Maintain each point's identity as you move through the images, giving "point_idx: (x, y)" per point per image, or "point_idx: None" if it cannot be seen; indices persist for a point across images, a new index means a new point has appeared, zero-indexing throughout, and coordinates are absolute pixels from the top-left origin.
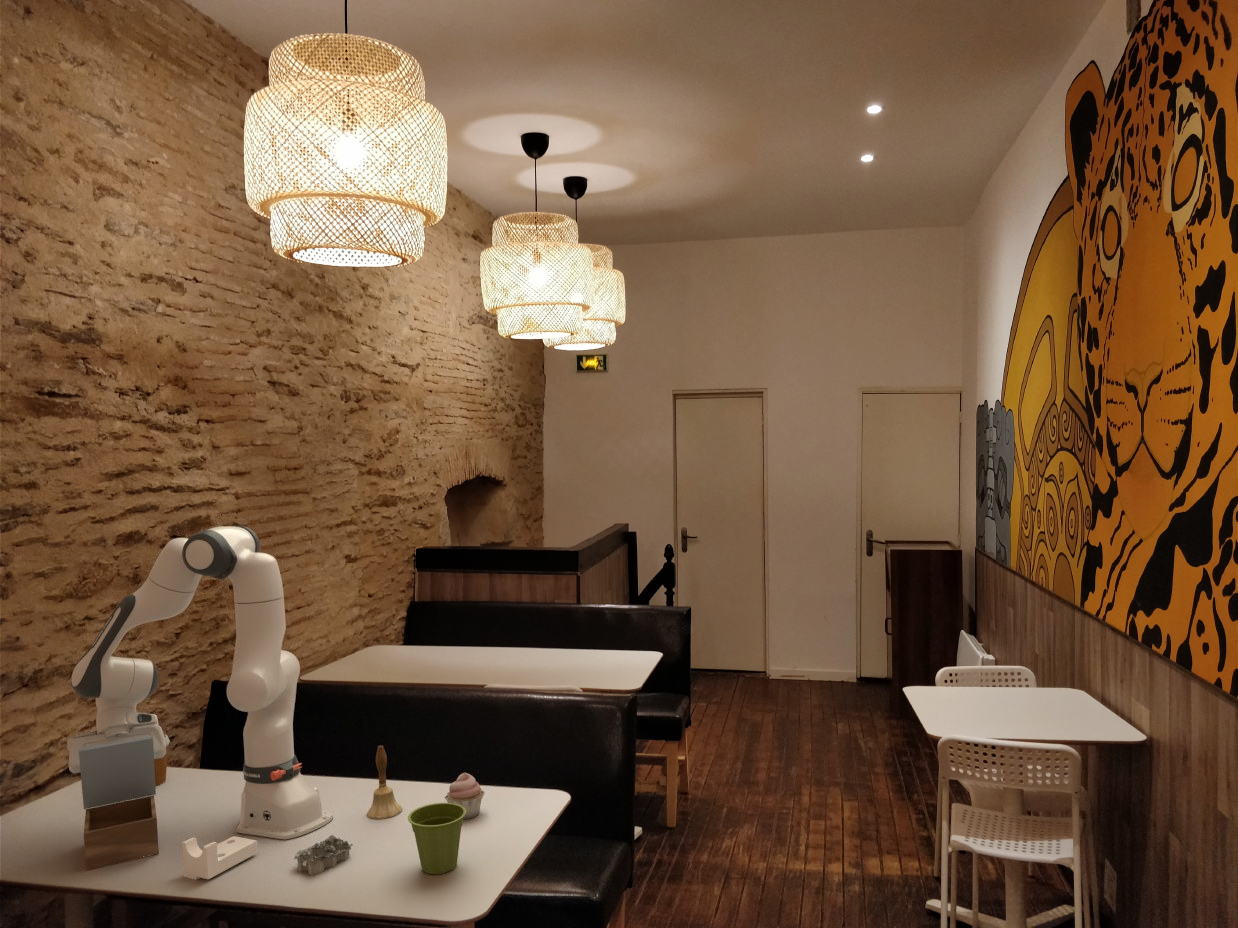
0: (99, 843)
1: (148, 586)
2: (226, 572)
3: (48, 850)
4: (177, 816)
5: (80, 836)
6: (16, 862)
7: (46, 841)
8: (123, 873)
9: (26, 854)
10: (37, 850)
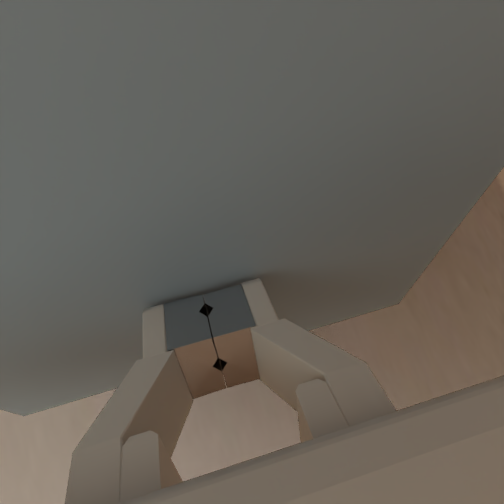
0: None
1: None
2: None
3: (439, 278)
4: (31, 476)
5: (376, 376)
6: (498, 212)
7: (481, 368)
8: None
9: (497, 269)
10: (476, 291)
